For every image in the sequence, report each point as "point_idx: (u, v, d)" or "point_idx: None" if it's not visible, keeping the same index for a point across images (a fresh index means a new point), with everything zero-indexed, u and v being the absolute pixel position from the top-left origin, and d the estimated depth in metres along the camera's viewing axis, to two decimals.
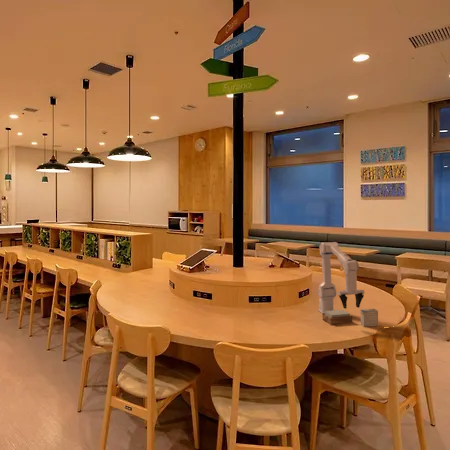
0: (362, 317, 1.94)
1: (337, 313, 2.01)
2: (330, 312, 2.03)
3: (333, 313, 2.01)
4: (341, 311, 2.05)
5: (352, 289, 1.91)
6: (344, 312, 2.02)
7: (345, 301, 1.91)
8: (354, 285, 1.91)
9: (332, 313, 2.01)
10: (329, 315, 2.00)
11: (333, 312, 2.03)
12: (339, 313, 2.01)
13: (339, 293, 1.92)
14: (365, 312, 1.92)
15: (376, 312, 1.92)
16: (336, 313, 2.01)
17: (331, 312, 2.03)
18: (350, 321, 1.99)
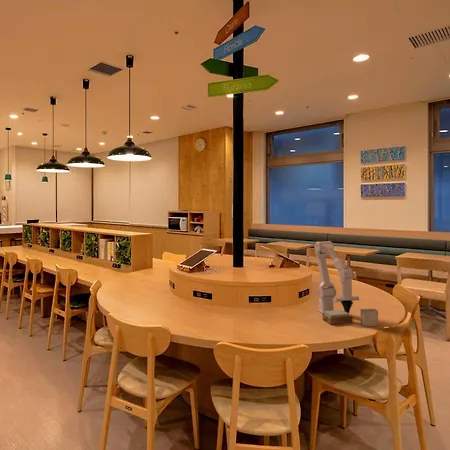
0: (362, 317, 1.94)
1: (336, 313, 2.01)
2: (329, 312, 2.03)
3: (332, 313, 2.01)
4: (341, 311, 2.05)
5: (348, 296, 2.01)
6: (343, 312, 2.02)
7: (347, 307, 2.02)
8: (349, 292, 2.01)
9: (331, 313, 2.01)
10: (328, 315, 2.00)
11: (332, 312, 2.03)
12: (338, 313, 2.00)
13: (335, 300, 2.02)
14: (365, 312, 1.92)
15: (376, 312, 1.92)
16: (335, 313, 2.01)
17: (330, 312, 2.03)
18: (350, 321, 1.99)
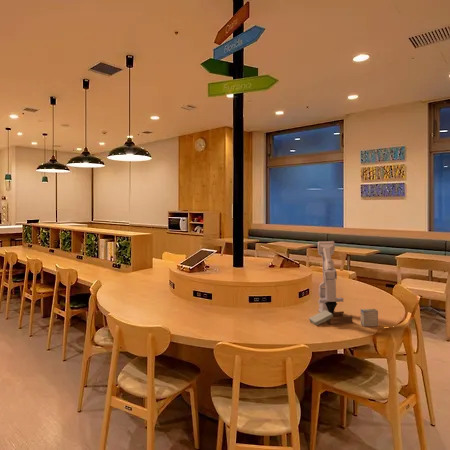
0: (362, 317, 1.94)
1: (320, 317, 1.99)
2: (314, 318, 2.01)
3: (316, 319, 1.99)
4: (324, 312, 2.03)
5: (332, 297, 1.99)
6: (327, 313, 2.00)
7: (331, 308, 2.00)
8: (333, 293, 1.99)
9: (315, 319, 1.99)
10: (313, 322, 1.99)
11: (316, 317, 2.01)
12: (322, 317, 1.99)
13: (319, 301, 2.00)
14: (365, 312, 1.92)
15: (376, 312, 1.92)
16: (319, 318, 1.99)
17: (314, 318, 2.01)
18: (350, 321, 1.99)
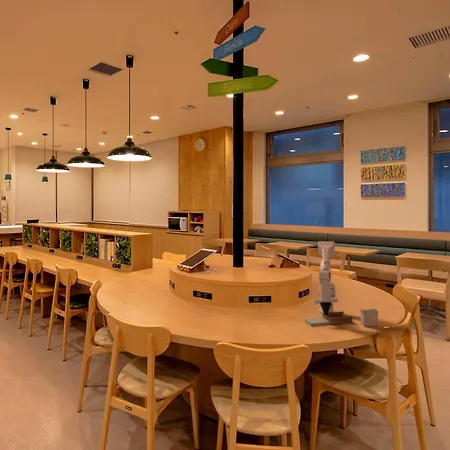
0: (362, 317, 1.94)
1: (317, 321, 1.99)
2: (310, 320, 2.01)
3: (312, 321, 1.99)
4: (322, 319, 2.03)
5: (326, 298, 1.98)
6: (324, 320, 2.00)
7: (325, 309, 2.00)
8: (328, 294, 1.99)
9: (312, 321, 1.99)
10: (309, 323, 1.98)
11: (313, 320, 2.01)
12: (319, 321, 1.99)
13: (314, 301, 1.99)
14: (365, 312, 1.92)
15: (376, 312, 1.92)
16: (316, 321, 1.99)
17: (311, 320, 2.01)
18: (350, 321, 1.99)
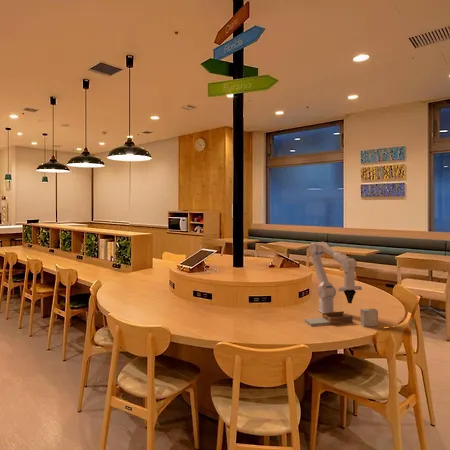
0: (362, 317, 1.94)
1: (317, 321, 1.99)
2: (310, 320, 2.01)
3: (312, 321, 1.99)
4: (322, 319, 2.03)
5: (351, 285, 2.03)
6: (324, 320, 2.00)
7: (349, 296, 2.04)
8: (352, 282, 2.03)
9: (312, 322, 1.99)
10: (309, 323, 1.98)
11: (313, 320, 2.01)
12: (319, 321, 1.99)
13: (338, 289, 2.04)
14: (365, 312, 1.92)
15: (376, 312, 1.92)
16: (316, 321, 1.99)
17: (311, 320, 2.01)
18: (350, 321, 1.99)
